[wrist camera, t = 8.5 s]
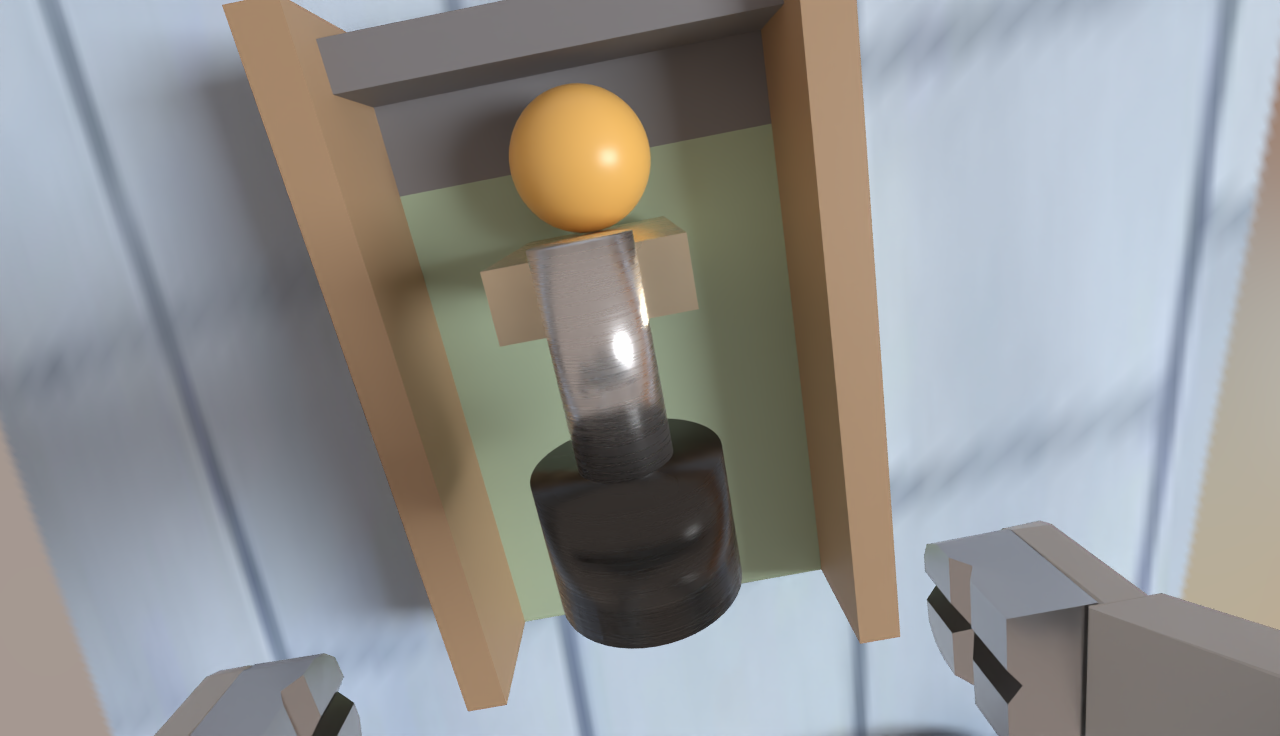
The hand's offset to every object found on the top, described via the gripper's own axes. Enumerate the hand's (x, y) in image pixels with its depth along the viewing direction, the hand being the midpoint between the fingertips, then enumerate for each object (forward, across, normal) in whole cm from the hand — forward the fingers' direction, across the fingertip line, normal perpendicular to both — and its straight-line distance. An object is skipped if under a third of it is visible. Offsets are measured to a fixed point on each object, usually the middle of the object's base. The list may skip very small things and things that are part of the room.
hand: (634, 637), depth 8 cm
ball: (+7, 0, +7) cm, 9 cm away
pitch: (+9, 0, +2) cm, 9 cm away
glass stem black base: (+8, 0, +2) cm, 8 cm away
